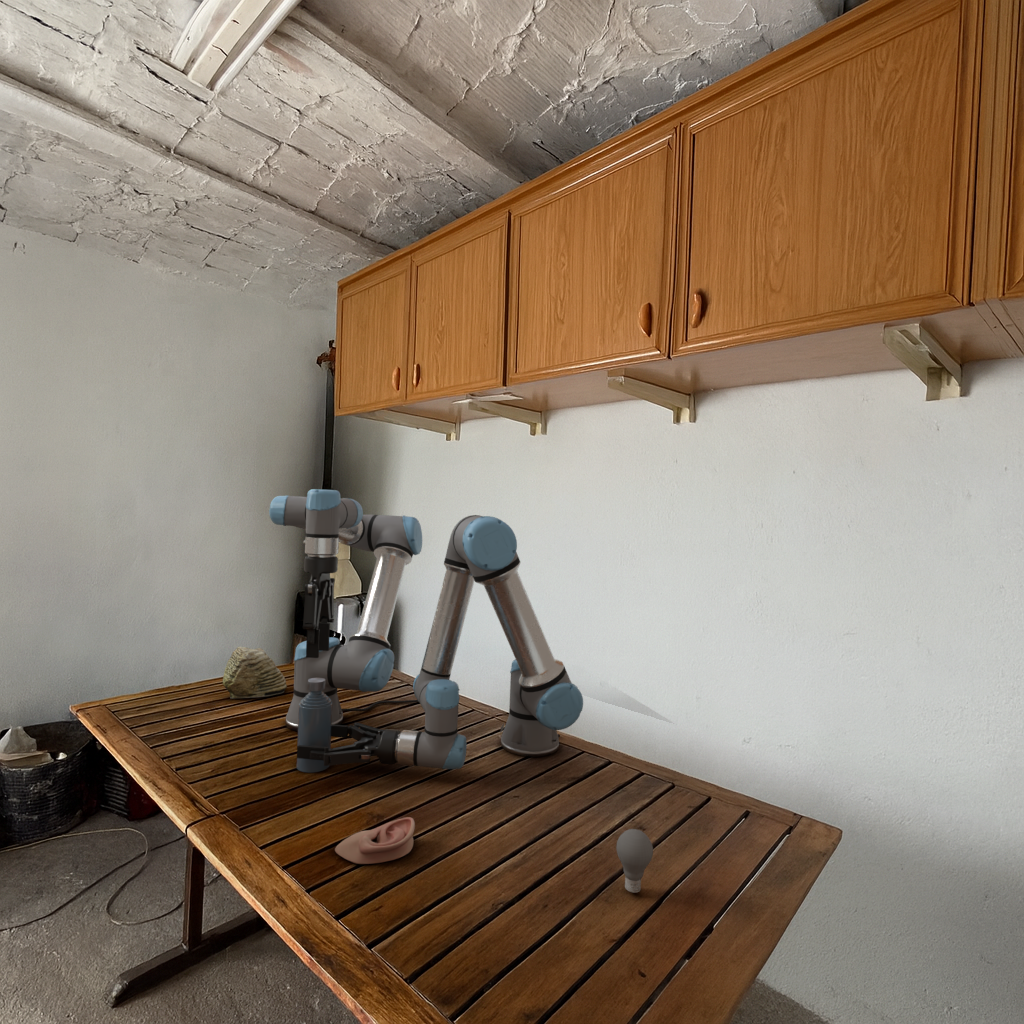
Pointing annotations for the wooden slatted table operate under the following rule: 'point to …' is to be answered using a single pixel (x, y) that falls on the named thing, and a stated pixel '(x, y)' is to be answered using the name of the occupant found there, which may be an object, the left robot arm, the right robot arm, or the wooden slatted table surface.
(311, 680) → the cap
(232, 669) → the fossil
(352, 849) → the anatomical model
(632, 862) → the light bulb
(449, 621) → the right robot arm
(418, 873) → the wooden slatted table surface
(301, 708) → the bottle
